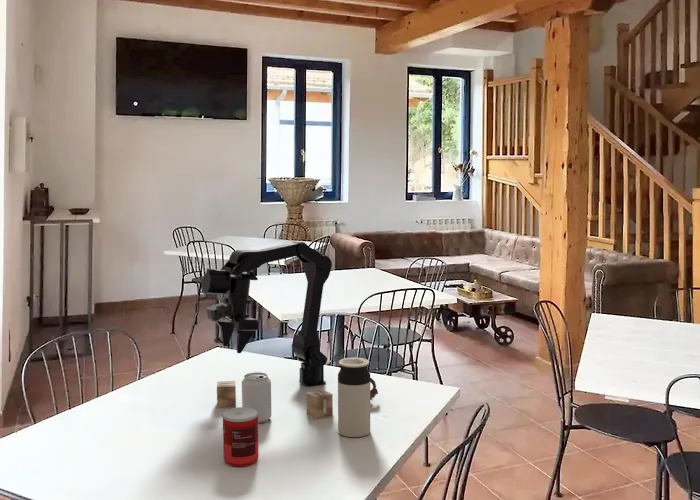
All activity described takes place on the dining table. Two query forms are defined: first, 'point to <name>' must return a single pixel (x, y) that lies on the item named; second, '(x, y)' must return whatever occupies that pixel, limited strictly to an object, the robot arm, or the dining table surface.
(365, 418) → the travel mug
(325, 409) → the marked block 2
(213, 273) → the robot arm
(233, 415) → the canned food
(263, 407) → the can
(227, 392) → the marked block 1
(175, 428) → the dining table surface
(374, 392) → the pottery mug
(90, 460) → the dining table surface
